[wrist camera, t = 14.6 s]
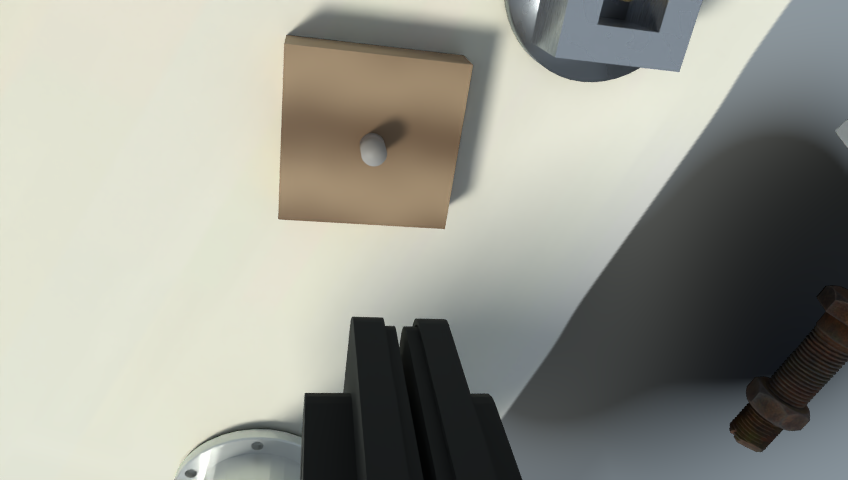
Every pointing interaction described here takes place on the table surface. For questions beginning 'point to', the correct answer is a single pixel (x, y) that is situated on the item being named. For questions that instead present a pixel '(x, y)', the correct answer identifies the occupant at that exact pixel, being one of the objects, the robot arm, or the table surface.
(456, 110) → the stand
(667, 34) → the square hollow frame
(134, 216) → the table surface
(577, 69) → the hub
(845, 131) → the hinge
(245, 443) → the robot arm
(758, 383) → the bolt
